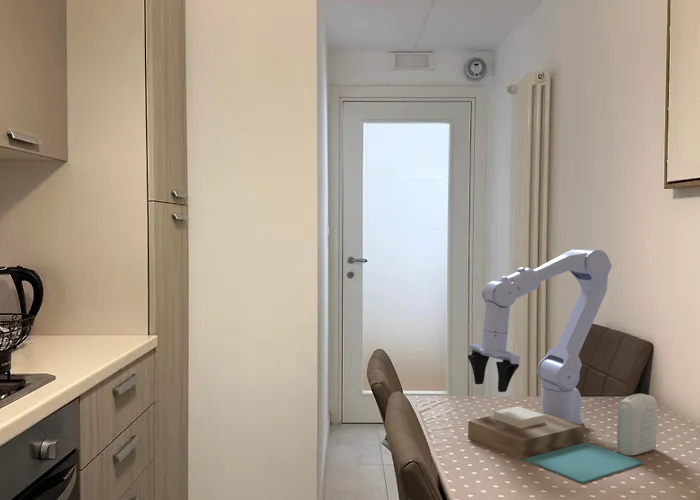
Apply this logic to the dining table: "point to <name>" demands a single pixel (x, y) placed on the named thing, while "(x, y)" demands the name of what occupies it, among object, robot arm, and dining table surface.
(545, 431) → the wood grain panel
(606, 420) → the dining table surface
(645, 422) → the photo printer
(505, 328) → the robot arm
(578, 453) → the mat
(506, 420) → the coaster
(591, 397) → the dining table surface
